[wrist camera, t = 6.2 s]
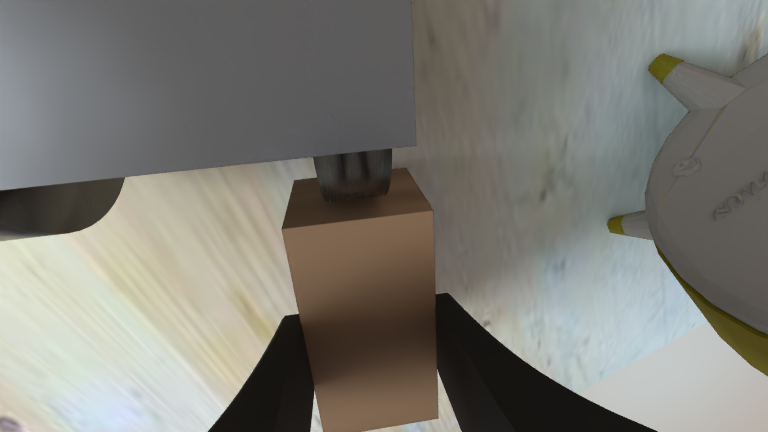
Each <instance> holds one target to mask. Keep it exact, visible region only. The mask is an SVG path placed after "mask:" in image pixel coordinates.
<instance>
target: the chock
mask: <svg viewBox="0 0 768 432" xmlns="http://www.w3.org/2000/svg"><path fill="white" fill-rule="evenodd" d="M282 233H283V238H284V243H285V248H286V253H287V258H288V263H289V267H290V272H291V277H292V282H293V287H294V292H295V297H296V302H297V306H298V311H299V316H300V321H301V324H302V328H303V333H304V338H305V343H306V348H307V353H308V358H309V363H310V367H311V372H312V377H313V382H314V389H315V394H316V399H317V404H318V409H319V413H320V418H321V423H322V428H323V432H362V431H368V430H374V429H380V428H386V427H392V426H397V425H403V424H409V423H415V422H421V421H427V420H432V419H438V379H437V358H436V318H435V305H436V296H435V255H434V213H433V209H432V208H431V206H430V204H429V203H428V201H427V200H426V198H425V197H424V195H423V193H422V192H421V190H420V189H419V187H418V186H417V184H416V182H415V181H414V179H413V178H412V176H411V175H410V173H409V171H408V170H407V168H400V169H391V180H390V187H389V191H388V194H387V195H386V196H378V197H370V198H361V199H353V200H344V201H336V202H327V203H325V202H324V200H323V197H322V194H321V190H320V186H319V182H318V178H310V179H301V180H294V183H293V187H292V191H291V195H290V199H289V203H288V207H287V210H286V214H285V218H284V222H283V226H282Z"/></svg>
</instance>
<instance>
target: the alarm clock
mask: <svg viewBox="0 0 768 432" xmlns="http://www.w3.org/2000/svg"><path fill="white" fill-rule="evenodd" d="M648 70H649V71H650V73H651V74H652V75H653V76H654V77H655V78H656V79H657V80H658V81H659V82H660V83H661V84H662V85H663V86H664V87H665V88H666V89H667V90H668V91H669V92H670V93H671V94H672V95H674V96H675V97H676V98H677V99H678V100H679V101H680V102H681V103H682V104H683V105H684V106H685V107H686V108H687V109H688V110H689V112H688V114H687V115H686V116H685V117H684V118H683V120H682V121H681V122H680V123H679V124H678V126H677V127H676V128H675V129H674V130H673V132H672V133H671V134H670V135H669V136H668V138H667V139H666V141H665V143H664V145H663V146H662V148H661V150H660V152H659V154H658V155H657V157H656V159H655V161H654V163H653V165H652V168H651V171H650V175H649V179H648V183H647V187H646V191H645V205H646V210H644V211H639V212H635V213H631V214H626V215H622V216H618V217H615V218H611V219H610V220H609V221H608V224H607V225H608V229H609V231H610V232H611V233H616V234H621V235H626V236H632V237H638V238H644V239H650V240H654V243H655V245H656V248H657V251H658V254H659V255H660V256H661V258H662V259H663V261H664V262H665V263H666V265H667V266H668V268H669V269H670V270H671V272H672V273H673V275H674V276H675V277H676V279H677V280H678V281H679V283H680V284H681V285H682V287H683V288H684V289H685V291H686V292H687V293H688V295H689V296H690V297H691V299H692V300H693V301H694V303H695V304H696V305H697V307H698V308H699V309H700V311H701V312H702V313H703V315H704V316H705V318H706V319H707V320H708V322H709V323H710V324H711V326H712V327H713V328H714V330H715V331H716V332H717V334H718V335H719V336H720V337H721V338H722V339H723V340H724V341H725V342H726V343H727V344H728V345H730V346H731V347H732V348H733V349H734V350H735V351H736V352H737V353H738V354H739V355H740V356H741V357H743V358H744V359H745V360H746V361H747V362H748V363H749V364H750V365H751V366H753V367H754V368H756V369H758V370H759V371H760V372H762V373H764V374H765V375H767V376H768V54H766V55H765V56H763V57H762V58H760V59H759V60H757V61H755V62H754V63H752V64H751V65H749V66H748V67H746V68H744V69H743V70H741V71H740V72H738V73H737V74H735V75H734V76H732V77H727V76H724V75H721V74H718V73H715V72H712V71H709V70H706V69H703V68H700V67H697V66H695V65H692V64H689V63H686V62H684V60H681V59H678V58H675V57H672V56H669V55H666V54H661V55H659V56H658V57H657V58H656V59H655V60H654V61H653V62H652V64H651V65H650V66H649V69H648Z"/></svg>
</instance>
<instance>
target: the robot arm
mask: <svg viewBox="0 0 768 432" xmlns="http://www.w3.org/2000/svg"><path fill="white" fill-rule="evenodd" d="M435 296H436V305H435V318H436V358H437V369H438V372H439V375H440V378H441V380H442V383H443V385H444V388H445V390H446V393H447V395H448V398H449V401H450V403H451V406H452V408H453V411H454V413H455V416H456V418H457V421H458V423H459V426H460V428H461V431H462V432H657V431H656V430H653V429H651V428H649V427H646V426H644V425H642V424H639V423H637V422H635V421H632V420H630V419H628V418H625V417H623V416H621V415H618V414H616V413H614V412H611V411H610V410H607V409H605V408H603V407H601V406H599V405H597V404H595V403H593V402H591V401H589V400H587V399H585V398H584V397H582V396H580V395H578V394H576V393H574V392H573V391H571V390H569V389H567V388H566V387H564V386H562V385H561V384H559V383H557V382H555V381H554V380H552V379H550V378H549V377H547V376H546V375H544V374H542V373H541V372H539V371H538V370H536V369H535V368H533V367H532V366H531V365H529V364H528V363H526V362H525V361H523V360H522V359H521V358H519V357H518V356H517V355H515V354H514V353H513V352H511V351H510V350H509V349H508V348H506V347H505V346H504V345H503V344H502V343H500V342H499V341H498V340H497V339H496V338H494V337H493V336H492V335H491V334H490V333H489V332H488V331H487V330H485V329H484V328H483V327H482V326H481V325H480V324H479V323H478V322H477V321H476V320H475V319H473V318H472V317H471V316H470V315H469V314H468V313H467V312H466V311H465V310H464V309H463V308H462V307H461V306H460V305H459V304H458V303H457V301H456V300H455V299H454V298H453V297H452V296H451V295H450V294H448V293H442V294H435ZM313 399H314V382H313V377H312V372H311V367H310V363H309V358H308V353H307V348H306V343H305V338H304V333H303V328H302V324H301V321H300V316H299V314H295V315H288V316H285V317H284V318H283V319H282V321H281V323H280V325H279V327H278V329H277V331H276V332H275V334H274V336H273V338H272V340H271V342H270V344H269V345H268V347H267V349H266V351H265V352H264V354H263V356H262V357H261V359H260V361H259V362H258V364H257V366H256V367H255V369H254V370H253V372H252V373H251V375H250V376H249V378H248V379H247V381H246V382H245V384H244V385H243V387H242V388H241V390H240V391H239V393H238V394H237V395H236V397H235V398H234V399H233V401H232V402H231V404H230V405H229V406H228V407H227V409H226V410H225V411H224V413H223V414H222V415H221V416H220V418H219V419H218V420H217V421H216V423H215V424H214V425H213V426H212V427H211V428H210V430H209V431H208V432H310V429H311V419H312V409H313Z"/></svg>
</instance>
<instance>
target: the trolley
mask: <svg viewBox="0 0 768 432" xmlns="http://www.w3.org/2000/svg"><path fill="white" fill-rule="evenodd" d="M409 146H416V126H415V98H414V70H413V42H412V14H411V0H0V241H6V240H14V239H23V238H31V237H40V236H48V235H57V234H65V233H71V232H75V231H80V230H82V229H85V228H87V227H89V226H92V225H93V224H94V223H96V222H97V221H99V220H100V219H101V218H102V217H103V216H105V215H106V214H107V213H108V211H109V210H110V209H111V207H112V206H113V205H114V203H115V201H116V199H117V198H118V196H119V194H120V191H121V188H122V186H123V183H124V179H125V177H129V176H139V175H148V174H157V173H167V172H176V171H185V170H195V169H204V168H213V167H223V166H232V165H241V164H250V163H260V162H269V161H278V160H288V159H297V158H306V157H313V159H314V164H315V169H316V173H317V178H318V182H319V186H320V190H321V194H322V197H323V200H324V202H325V203H327V202H336V201H344V200H353V199H361V198H370V197H378V196H386V195H387V194H388V191H389V187H390V180H391V166H392V148H400V147H409Z"/></svg>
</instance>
